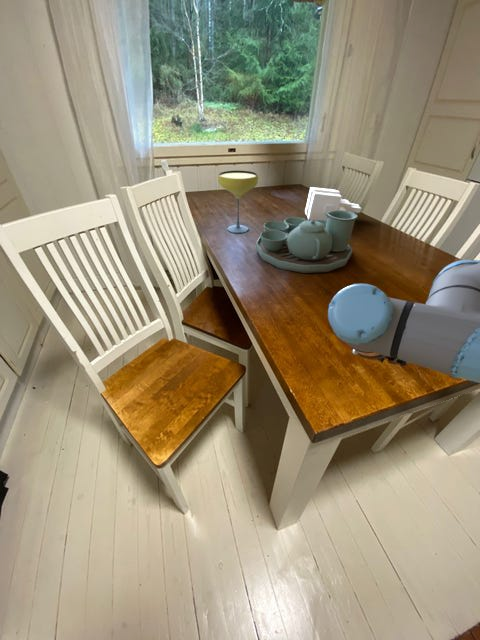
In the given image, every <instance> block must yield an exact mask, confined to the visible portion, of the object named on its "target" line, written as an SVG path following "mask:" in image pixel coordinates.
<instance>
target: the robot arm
mask: <svg viewBox="0 0 480 640" xmlns="http://www.w3.org/2000/svg"><path fill="white" fill-rule="evenodd" d="M327 319H328V322H329V325H330V327H331V329H332V331H333V333H334V334H335V336H336V337H337V338H338V339H340V340H341V341H342V342H344V343H345V344H347V346H349V347H350V348H351V351H350V352H351V354H353V355H354V356H359V357H360V358H363V359H365V360H370V361H376V360H377V361H378V362H379V363H384V361H385V360H386V362H388V364H392V365H399V366H401V367H406V366H407V364H408V363H410V364H413V365H417V366H419V367H422V368H426V369H428V370H432V371H435V372H439V373H442V374H445V375H448V376H451V377H452V378H454V379H457V380H458V379H462V380H466V381H470V382H474V383H478V384H480V260H477V259H461V260H456V261H454V262H451V263H449V264H448V265H445V267H443V268H442V269H441V270H440V271H439V272H438V275H436V277H435V278H434V280H433V281H432V284H431V285H430V290H429V295H428V297H427V300H426V301H425V303H420V302H414V301H410V300H409V301H408V300H403V299H398V298H393V297H389V296H388V295H387V294H386V293H385V292H384V291H382V290H381V289H380V288H378V287H377V286H375V285H372V284H369V283H353V284H351V285H348V286H345V287H343V288H342V289H340V290H339V291H338V292H337V293H336V294H335V295H334V296H333V297H332V299H330V302H329V304H328V309H327Z"/></svg>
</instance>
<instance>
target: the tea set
mask: <svg viewBox="0 0 480 640" xmlns="http://www.w3.org/2000/svg"><path fill="white" fill-rule="evenodd" d="M325 215H326V216H327V221H325V220H308V218H304V217H299V216H298V217H297V216H292V217H291V216H290V217H286V218H284V219H283V221H281V220H279V221H278V220H272V221H266V222H264V224H263V225H262V226H263V228H264V229H263V230H264V231H262V232H260V234H259V237H258V238H257V240H256V242H255V249H256V251H257V253H258V255H259V256H260V258H261V260H263V261H265V262H266V263H269V264H270V265H272V266H273V267H276V268H278V269H282V270H287V271H292V272H297V273H301V274H309V273H329V272H331V271H334V270H337V269H339V268H343V267H345V266H346V265H347V263H348V261H349V260H350V258H351V256H352V254H353V249H352V247H351V246H350V239H351V236H352V234H353V233H352V232H353V229H354V226H355V221H356V219H357V218H358V214H357V213H356V212H350V211H345V210H332V211H329V212H326V213H325Z"/></svg>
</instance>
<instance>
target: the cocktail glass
mask: <svg viewBox="0 0 480 640" xmlns="http://www.w3.org/2000/svg"><path fill="white" fill-rule="evenodd" d="M217 179H218V184H219V186H220V187H221V188H223V189H224V190H226V191H227V192H230V193H231V194H233V196H234V197H235V198H236V199H237V207H236V208H237V209H236V211H237V212H236V213H237V216H236V217H237V218H236V224H234V225H229V226H228V227H227V231H228V232H230V233H233V234H244V233H247V232H248V231H249V229H250V228H249V227H248V226H246V225H242V224H240V198H242V196H243V195H244V194H245V193H247V192H249V191H251V190H253V189H254V188H256V186H258V183H259V175H258V173H257V172H254V171H251V170H250V171H249V170H248V171H247V170H226V171H222V172H219V174H218V177H217Z"/></svg>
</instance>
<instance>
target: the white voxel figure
mask: <svg viewBox="0 0 480 640" xmlns="http://www.w3.org/2000/svg"><path fill="white" fill-rule="evenodd" d="M340 192H341V191H340V190H336V189H335V188H334V189H333V188H324V187H315V186H310V187H309V191H308V196H307V201H306V205H305V208H304V214H305V216H306V219H307V220H308V221H311V220H325V221H327V216H326V215H325V213H326V212H329V211H332V210H345V211H350V212H353V213H356V214H357V213H359V214H360V213H361V211H362V207H361V206H360V205H359V204H358V203H351V202H350V201H349V200H348V199H346V198H345V199H344V198H342V194H340Z"/></svg>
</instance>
